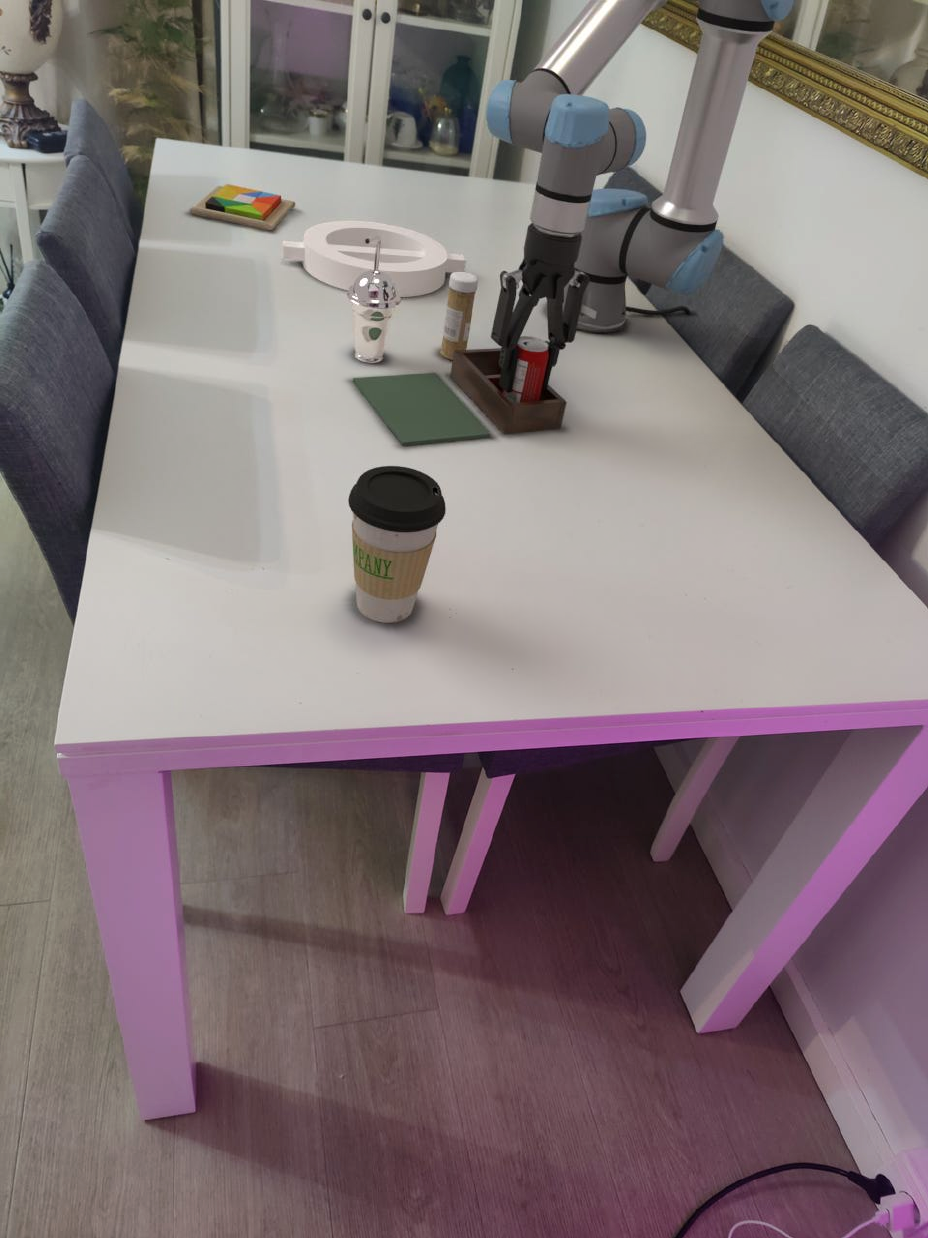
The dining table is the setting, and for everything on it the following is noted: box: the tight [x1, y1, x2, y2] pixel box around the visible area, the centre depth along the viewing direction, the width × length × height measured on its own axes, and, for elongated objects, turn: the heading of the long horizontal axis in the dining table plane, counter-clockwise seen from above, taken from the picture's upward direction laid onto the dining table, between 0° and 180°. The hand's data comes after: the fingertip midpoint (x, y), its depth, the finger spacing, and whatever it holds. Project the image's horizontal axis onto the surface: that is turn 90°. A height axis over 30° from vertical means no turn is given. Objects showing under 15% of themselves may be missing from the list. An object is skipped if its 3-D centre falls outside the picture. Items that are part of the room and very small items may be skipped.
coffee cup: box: [347, 465, 447, 624], centre depth 94 cm, size 10×10×15 cm
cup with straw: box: [346, 236, 402, 364], centre depth 141 cm, size 8×9×20 cm
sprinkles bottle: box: [439, 271, 479, 361], centre depth 149 cm, size 5×5×14 cm
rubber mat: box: [352, 372, 492, 447], centre depth 136 cm, size 14×20×1 cm
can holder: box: [449, 347, 568, 435], centre depth 141 cm, size 10×19×4 cm, turn 25°
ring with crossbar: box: [281, 220, 467, 298], centre depth 177 cm, size 28×28×5 cm
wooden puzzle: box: [188, 183, 296, 231], centre depth 192 cm, size 18×19×4 cm
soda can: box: [503, 335, 548, 403], centre depth 135 cm, size 6×6×12 cm
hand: (523, 386), depth 136 cm, fingers closed on soda can, 5 cm apart
